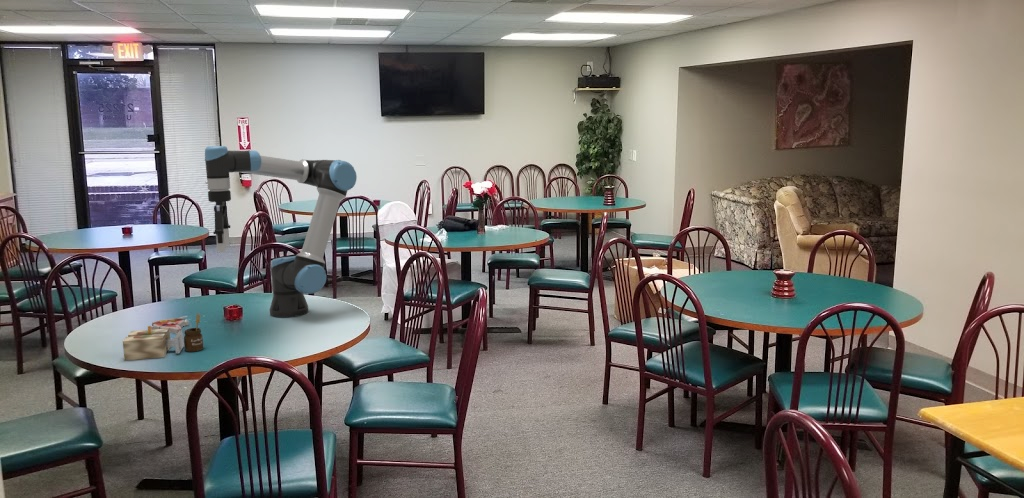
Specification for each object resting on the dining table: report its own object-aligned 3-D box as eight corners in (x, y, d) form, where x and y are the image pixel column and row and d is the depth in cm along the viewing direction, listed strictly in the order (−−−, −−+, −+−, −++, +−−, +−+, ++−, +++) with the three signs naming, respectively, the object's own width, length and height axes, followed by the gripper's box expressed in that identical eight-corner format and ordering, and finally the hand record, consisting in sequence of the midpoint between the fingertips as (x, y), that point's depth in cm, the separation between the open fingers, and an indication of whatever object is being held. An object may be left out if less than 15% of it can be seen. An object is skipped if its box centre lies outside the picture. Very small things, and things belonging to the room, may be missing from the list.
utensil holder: (180, 351, 263) (177, 316, 261) (195, 346, 268) (192, 312, 266) (193, 353, 260) (190, 318, 258) (208, 347, 266) (205, 314, 264)
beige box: (170, 346, 268) (169, 327, 267) (163, 357, 256) (162, 337, 255) (133, 349, 265) (131, 330, 264) (124, 360, 253) (122, 340, 252)
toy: (186, 313, 303) (199, 324, 286) (187, 321, 303) (200, 333, 287) (145, 319, 294) (156, 331, 278) (146, 328, 295) (157, 340, 279)
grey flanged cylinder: (184, 345, 267) (181, 320, 266) (179, 353, 259) (177, 327, 257) (139, 349, 264) (137, 324, 263) (133, 356, 255) (131, 330, 254)
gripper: (212, 187, 284) (216, 244, 288) (202, 193, 260) (207, 255, 264) (233, 187, 286) (237, 243, 290) (226, 192, 262) (231, 254, 266)
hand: (223, 249), depth 277 cm, fingers open, 13 cm apart
